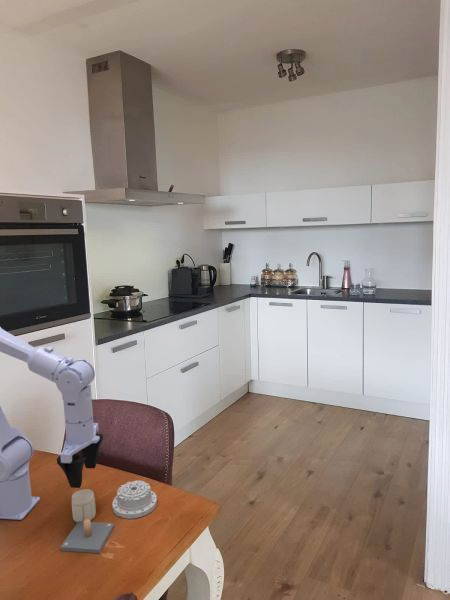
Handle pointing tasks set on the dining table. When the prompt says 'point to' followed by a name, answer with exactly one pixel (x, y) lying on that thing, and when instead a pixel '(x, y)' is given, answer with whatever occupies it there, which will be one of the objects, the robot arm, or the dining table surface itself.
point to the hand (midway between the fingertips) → (83, 476)
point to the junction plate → (87, 536)
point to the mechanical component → (134, 500)
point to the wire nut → (83, 505)
